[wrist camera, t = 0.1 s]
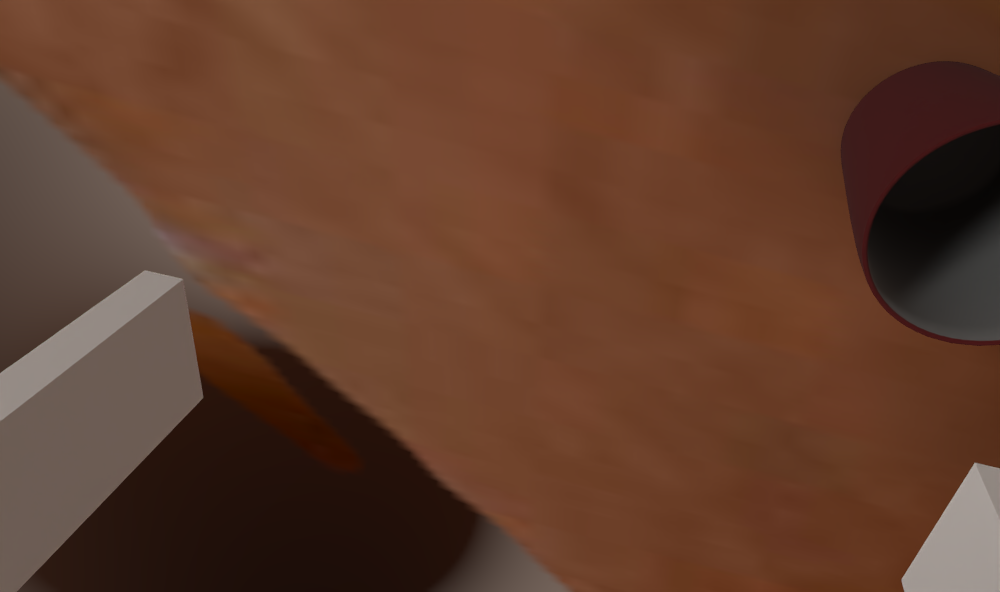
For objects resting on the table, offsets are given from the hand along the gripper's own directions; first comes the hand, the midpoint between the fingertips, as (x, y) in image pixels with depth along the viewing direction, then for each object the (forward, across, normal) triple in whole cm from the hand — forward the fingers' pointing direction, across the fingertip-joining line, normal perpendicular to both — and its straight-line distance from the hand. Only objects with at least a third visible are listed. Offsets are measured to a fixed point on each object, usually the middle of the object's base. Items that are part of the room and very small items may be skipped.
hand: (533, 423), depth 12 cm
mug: (+28, +15, -3) cm, 32 cm away
